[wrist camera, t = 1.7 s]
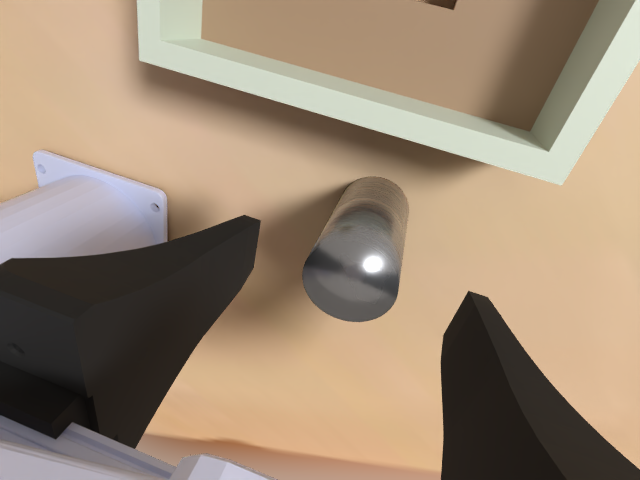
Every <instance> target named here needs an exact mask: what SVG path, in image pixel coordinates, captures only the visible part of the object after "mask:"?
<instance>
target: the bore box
mask: <svg viewBox="0 0 640 480" xmlns="http://www.w3.org/2000/svg"><path fill="white" fill-rule="evenodd" d="M137 19H138V43H139V61H142V62H146V63H149V64H153V65H156V66H159V67H163V68H166V69H169V70H173V71H176V72H180V73H183V74H186V75H190V76H193V77H197V78H200V79H203V80H207V81H210V82H213V83H217V84H220V85H224V86H227V87H230V88H234V89H237V90H240V91H244V92H247V93H251V94H254V95H257V96H261V97H264V98H267V99H271V100H274V101H278V102H281V103H284V104H288V105H291V106H295V107H298V108H301V109H305V110H308V111H311V112H315V113H318V114H322V115H325V116H328V117H332V118H335V119H338V120H342V121H345V122H349V123H352V124H355V125H359V126H362V127H365V128H369V129H372V130H376V131H379V132H382V133H386V134H389V135H393V136H396V137H399V138H403V139H406V140H409V141H413V142H416V143H420V144H423V145H426V146H430V147H433V148H436V149H440V150H443V151H447V152H450V153H453V154H457V155H460V156H464V157H467V158H470V159H474V160H477V161H480V162H484V163H487V164H491V165H494V166H497V167H501V168H504V169H507V170H511V171H514V172H518V173H521V174H524V175H528V176H531V177H534V178H538V179H541V180H545V181H548V182H551V183H555V184H558V185H562V184H563V183H564V181H565V180H566V178H567V176H568V175H569V173H570V171H571V170H572V168H573V167H574V165H575V163H576V162H577V160H578V159H579V157H580V155H581V154H582V152H583V151H584V149H585V147H586V146H587V144H588V143H589V141H590V139H591V138H592V136H593V134H594V133H595V131H596V130H597V128H598V126H599V125H600V123H601V122H602V120H603V118H604V117H605V115H606V114H607V112H608V110H609V109H610V107H611V106H612V104H613V102H614V101H615V99H616V97H617V96H618V94H619V93H620V91H621V89H622V88H623V86H624V85H625V83H626V81H627V80H628V78H629V77H630V75H631V73H632V72H633V70H634V68H635V67H636V65H637V64H638V62H639V60H640V0H456V2H455V5H454V8H453V10H451V9H447V8H443V7H439V6H435V5H432V4H428V3H424V2H420V1H416V0H137Z"/></svg>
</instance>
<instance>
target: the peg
mask: <svg viewBox="0 0 640 480" xmlns="http://www.w3.org/2000/svg"><path fill="white" fill-rule="evenodd" d="M408 214H409V205H408V201H407V198H406V196H405V194H404V193H403V191H402V190H401V189H400V188H399V187H398V186H397V185H396V184H394V183H393V182H391V181H389V180H387V179H385V178H381V177H365V178H361V179H359V180H356V181H355V182H353V183H352V184H350V185H349V186H348V187H347V188H346V190H345V191H344V193H343V195H342V196H341V198H340V200H339V202H338V204H337V206H336V207H335V209H334V211H333V213H332V215H331V216H330V218H329V220H328V222H327V224H326V226H325V227H324V229H323V231H322V233H321V235H320V236H319V238H318V240H317V242H316V244H315V246H314V247H313V249H312V251H311V253H310V255H309V256H308V258H307V260H306V262H305V264H304V267H303V273H302V279H303V284H304V288H305V290H306V292H307V294H308V296H309V298H310V299H311V300H312V301H313V303H314V304H315V305H316V306H317V307H318V308H320V309H321V310H322V311H324V312H325V313H327V314H329V315H331V316H333V317H335V318H338V319H341V320H345V321H351V322H364V321H369V320H373V319H376V318H378V317H380V316H382V315H383V314H385V313H386V312H387V311H388V310H389V309H390V308H391V307H392V306H393V304H394V302H395V301H396V298H397V295H398V288H399V281H400V274H401V266H402V259H403V251H404V244H405V237H406V229H407V222H408Z"/></svg>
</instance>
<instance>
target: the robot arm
mask: <svg viewBox="0 0 640 480" xmlns="http://www.w3.org/2000/svg"><path fill="white" fill-rule="evenodd" d="M33 161H34V166H35V171H36V175H37V180H38V185H39V188H37V189H35V190H32V191H30V192H27V193H25V194H22V195H20V196H17V197H15V198H12V199H10V200H7V201H5V202H2V203H0V480H277V479H275V478H273V477H270V476H268V475H265V474H263V473H261V472H258V471H256V470H254V469H251V468H249V467H247V466H244V465H242V464H239V463H237V462H235V461H232V460H230V459H226V458H222V457H219V456H215V455H211V454H207V453H205V454H197V455H190V456H186V457H183V458H182V459H181V461H180V462H179V464H178V465H177V467H175V466H172V465H170V464H168V463H166V462H163V461H161V460H159V459H156V458H154V457H152V456H149V455H147V454H145V453H142V452H140V451H138V450H135V448H136V446H137V444H138V443H139V441H140V439H141V437H142V435H143V434H144V432H145V430H146V428H147V426H148V424H149V423H150V421H151V419H152V418H153V416H154V414H155V412H156V411H157V409H158V407H159V406H160V404H161V402H162V400H163V399H164V397H165V395H166V394H167V392H168V390H169V389H170V387H171V385H172V384H173V382H174V380H175V379H176V377H177V376H178V374H179V372H180V371H181V369H182V367H183V366H184V364H185V363H186V361H187V360H188V358H189V357H190V355H191V353H192V352H193V350H194V349H195V347H196V346H197V344H198V343H199V341H200V340H201V339H202V337H203V336H204V335H205V333H206V332H207V331H208V330H209V328H210V327H211V326H212V325H213V324H214V322H215V321H216V320H217V319H218V317H219V316H220V315H221V314H222V312H223V311H224V310H225V309H226V307H227V306H228V305H229V304H230V302H231V301H232V300H233V299H234V297H235V296H236V295H237V293H238V292H239V291H240V290H241V288H242V286H243V285H244V283H245V281H246V280H247V278H248V276H249V275H250V273H251V271H252V269H253V268H254V262H255V255H256V248H257V242H258V235H259V229H260V222H261V220H258V219H255V218H252V217H249V216H246V215H243V216H240V217H237V218H234V219H231V220H229V221H226V222H224V223H221V224H218V225H216V226H213V227H210V228H208V229H205V230H202V231H200V232H197V233H194V234H190V235H187V236H184V237H181V238H178V239H175V240H172V241H168V242H167V196H166V195H165V193H164V192H163V191H162V190H160V189H158V188H155V187H152V186H149V185H146V184H143V183H140V182H137V181H134V180H131V179H128V178H125V177H123V176H120V175H117V174H114V173H111V172H108V171H105V170H102V169H99V168H96V167H93V166H90V165H87V164H84V163H81V162H78V161H75V160H72V159H69V158H66V157H63V156H60V155H57V154H54V153H51V152H48V151H45V150H39V151H36V152H34V153H33ZM155 204H157V205H158V207H159V208H157V207H156V205H155ZM441 384H442V405H443V430H444V441H443V457H442V473H441V480H640V469H638V468H637V467H636V466H635V465H634V464H632V463H631V462H630V461H629V460H628V459H627V458H625V457H624V456H623V455H622V454H621V453H620V452H619V451H618V450H616V449H615V448H614V447H613V446H612V445H611V444H610V443H609V442H608V441H606V440H605V439H604V438H603V437H602V436H601V435H600V434H599V433H598V432H597V431H596V430H595V429H594V428H593V427H592V426H591V425H590V424H589V423H588V422H587V421H586V420H585V419H584V418H583V417H582V416H581V415H580V414H579V413H578V412H577V411H576V410H575V409H574V408H573V407H572V406H571V405H570V404H569V403H568V402H567V401H566V399H565V398H564V397H563V396H562V395H561V394H560V393H559V392H558V391H557V390H556V388H555V387H554V386H553V385H552V384H551V383H550V382H549V380H548V379H547V378H546V377H545V376H544V374H543V373H542V372H541V371H540V369H539V368H538V367H537V365H536V364H535V363H534V362H533V360H532V359H531V358H530V356H529V355H528V354H527V352H526V351H525V350H524V348H523V347H522V346H521V344H520V343H519V341H518V340H517V339H516V337H515V336H514V334H513V333H512V331H511V330H510V329H509V327H508V326H507V324H506V323H505V321H504V320H503V318H502V317H501V315H500V314H499V312H498V311H497V309H496V308H495V307H494V305H493V304H492V302H491V301H490V300H489V298H488V297H485V296H482V295H479V294H476V293H473V292H470V291H468V293H467V295H466V296H465V298H464V300H463V302H462V303H461V305H460V307H459V309H458V310H457V312H456V314H455V316H454V317H453V319H452V321H451V323H450V324H449V326H448V328H447V330H446V331H445V333H444V335H443V344H442V354H441Z"/></svg>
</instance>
